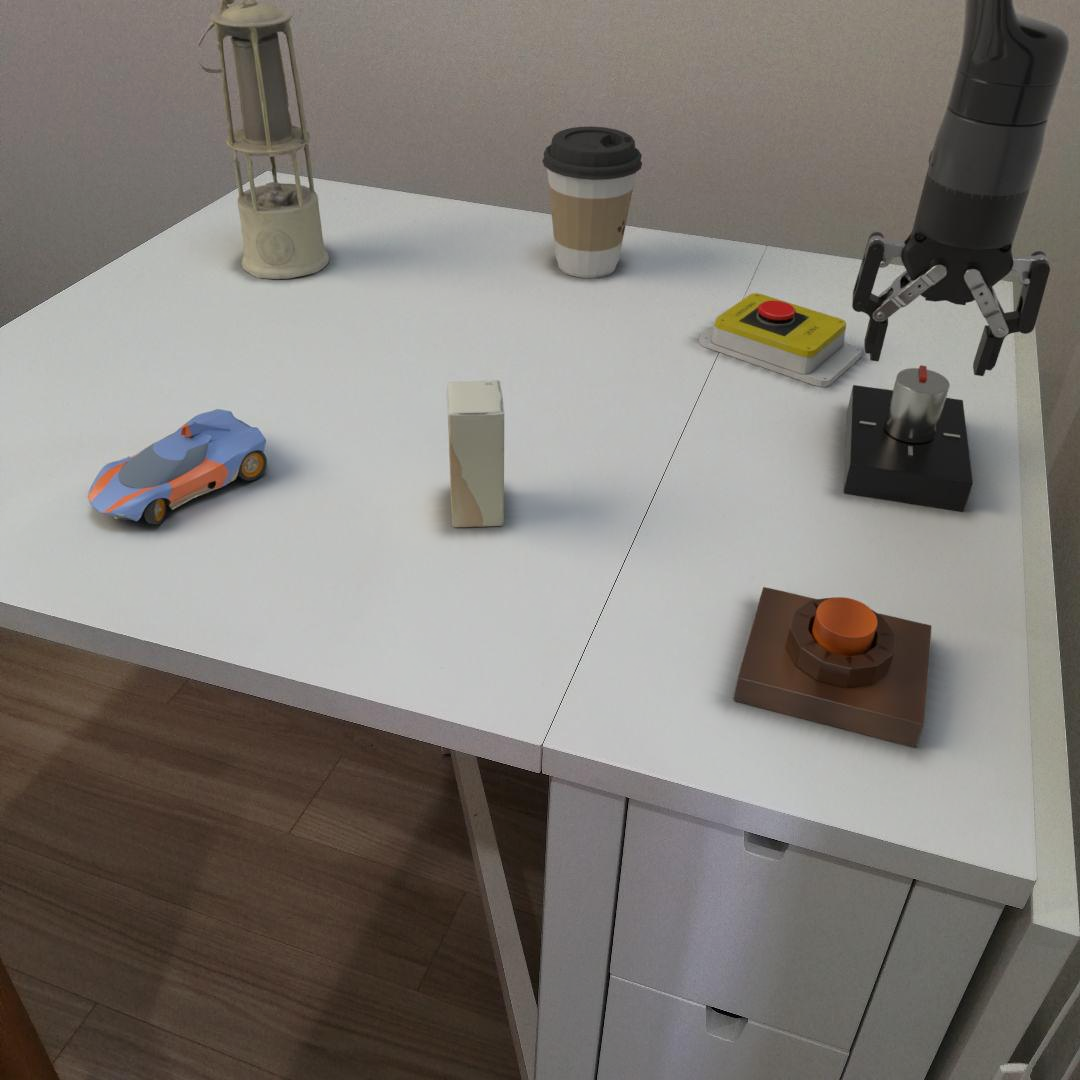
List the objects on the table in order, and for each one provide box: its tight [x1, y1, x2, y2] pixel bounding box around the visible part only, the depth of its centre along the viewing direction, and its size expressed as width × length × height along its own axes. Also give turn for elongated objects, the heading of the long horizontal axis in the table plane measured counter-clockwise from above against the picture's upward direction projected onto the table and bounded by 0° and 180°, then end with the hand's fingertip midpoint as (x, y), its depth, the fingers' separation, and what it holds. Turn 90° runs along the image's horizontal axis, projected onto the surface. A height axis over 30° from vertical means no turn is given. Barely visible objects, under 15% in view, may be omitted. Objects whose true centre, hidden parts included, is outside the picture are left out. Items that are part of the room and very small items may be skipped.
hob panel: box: [842, 384, 974, 512], centre depth 95 cm, size 14×10×3 cm
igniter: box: [733, 586, 933, 748], centre depth 73 cm, size 12×10×4 cm
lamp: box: [197, 0, 330, 280], centre depth 118 cm, size 10×13×30 cm
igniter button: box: [812, 596, 878, 656], centre depth 71 cm, size 4×4×2 cm
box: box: [446, 379, 505, 528], centre depth 85 cm, size 5×4×11 cm
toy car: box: [87, 408, 268, 525], centre depth 88 cm, size 8×15×5 cm, turn 138°
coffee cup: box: [541, 125, 643, 279], centre depth 123 cm, size 11×11×15 cm
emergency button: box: [698, 292, 863, 388], centre depth 110 cm, size 9×4×15 cm
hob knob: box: [884, 364, 950, 443], centre depth 92 cm, size 4×4×5 cm
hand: (925, 364), depth 90 cm, fingers open, 8 cm apart
